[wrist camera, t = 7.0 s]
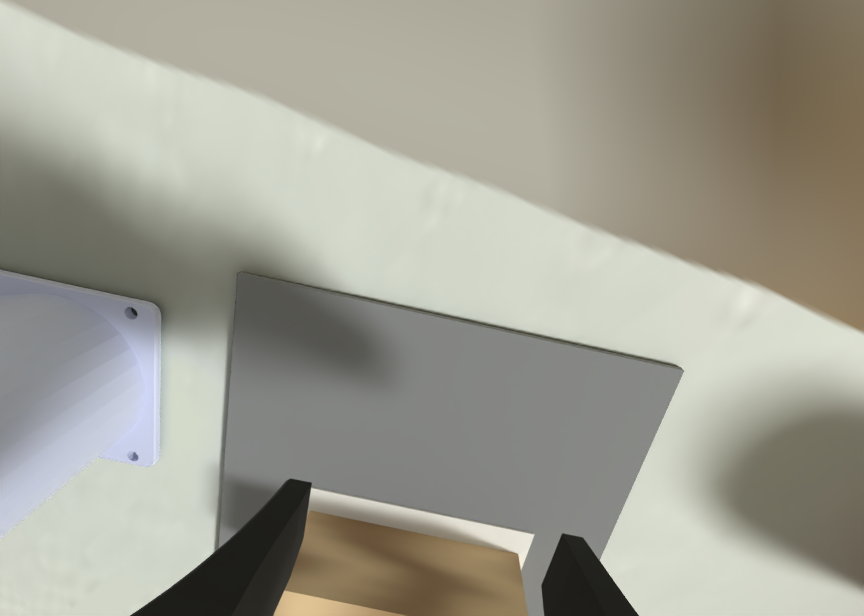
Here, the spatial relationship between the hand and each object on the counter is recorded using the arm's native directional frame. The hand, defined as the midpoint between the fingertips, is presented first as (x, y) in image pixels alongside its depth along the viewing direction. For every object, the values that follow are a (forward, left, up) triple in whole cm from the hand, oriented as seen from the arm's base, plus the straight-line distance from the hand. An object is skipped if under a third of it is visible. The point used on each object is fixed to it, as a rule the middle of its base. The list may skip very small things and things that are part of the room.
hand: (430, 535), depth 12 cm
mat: (0, -7, -7) cm, 10 cm away
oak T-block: (0, -12, -7) cm, 13 cm away
